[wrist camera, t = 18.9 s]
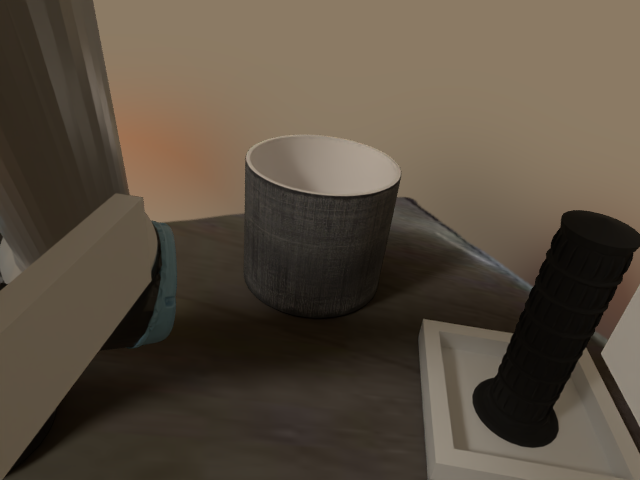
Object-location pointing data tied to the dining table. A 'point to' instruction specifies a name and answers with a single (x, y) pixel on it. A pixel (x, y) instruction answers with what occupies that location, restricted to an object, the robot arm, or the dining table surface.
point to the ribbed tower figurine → (555, 327)
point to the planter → (317, 222)
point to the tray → (496, 453)
